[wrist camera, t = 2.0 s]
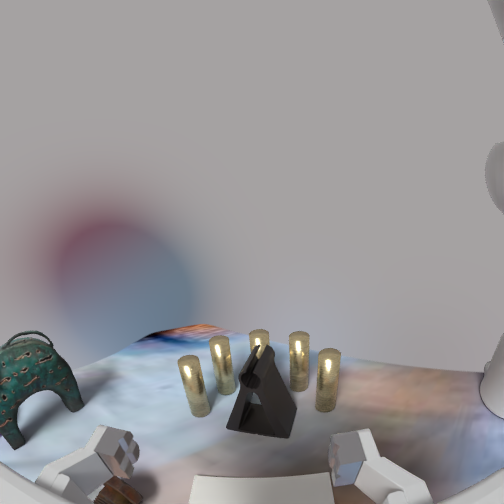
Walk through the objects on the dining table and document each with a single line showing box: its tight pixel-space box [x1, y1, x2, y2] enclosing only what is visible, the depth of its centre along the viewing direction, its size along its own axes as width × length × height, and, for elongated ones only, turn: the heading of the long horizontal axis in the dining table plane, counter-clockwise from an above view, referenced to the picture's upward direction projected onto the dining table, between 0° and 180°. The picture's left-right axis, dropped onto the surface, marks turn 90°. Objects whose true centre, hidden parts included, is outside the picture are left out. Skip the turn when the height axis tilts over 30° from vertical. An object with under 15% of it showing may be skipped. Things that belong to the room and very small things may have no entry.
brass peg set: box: [178, 329, 341, 417], centre depth 40 cm, size 22×10×10 cm, turn 88°
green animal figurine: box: [0, 331, 84, 450], centre depth 28 cm, size 20×6×20 cm, turn 151°
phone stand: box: [226, 344, 297, 438], centre depth 35 cm, size 9×6×12 cm, turn 73°
